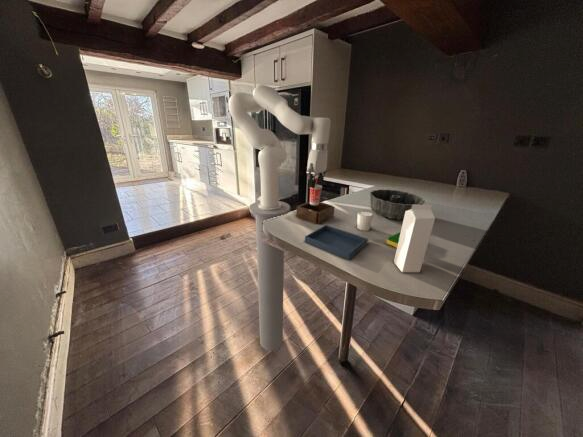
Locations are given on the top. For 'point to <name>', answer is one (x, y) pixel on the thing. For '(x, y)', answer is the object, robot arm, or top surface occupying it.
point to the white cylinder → (364, 220)
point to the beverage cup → (315, 194)
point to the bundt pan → (393, 202)
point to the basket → (315, 212)
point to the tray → (336, 241)
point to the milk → (414, 238)
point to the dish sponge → (394, 240)
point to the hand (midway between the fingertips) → (315, 185)
